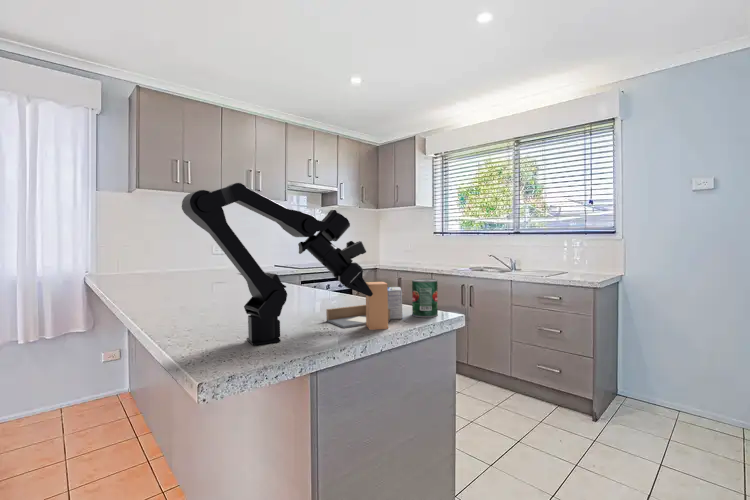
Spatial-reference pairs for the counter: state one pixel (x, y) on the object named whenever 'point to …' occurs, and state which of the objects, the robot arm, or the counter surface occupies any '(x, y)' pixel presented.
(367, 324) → the terracotta block
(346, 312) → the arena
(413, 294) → the canned tomato
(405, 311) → the counter surface
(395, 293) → the medicine box
